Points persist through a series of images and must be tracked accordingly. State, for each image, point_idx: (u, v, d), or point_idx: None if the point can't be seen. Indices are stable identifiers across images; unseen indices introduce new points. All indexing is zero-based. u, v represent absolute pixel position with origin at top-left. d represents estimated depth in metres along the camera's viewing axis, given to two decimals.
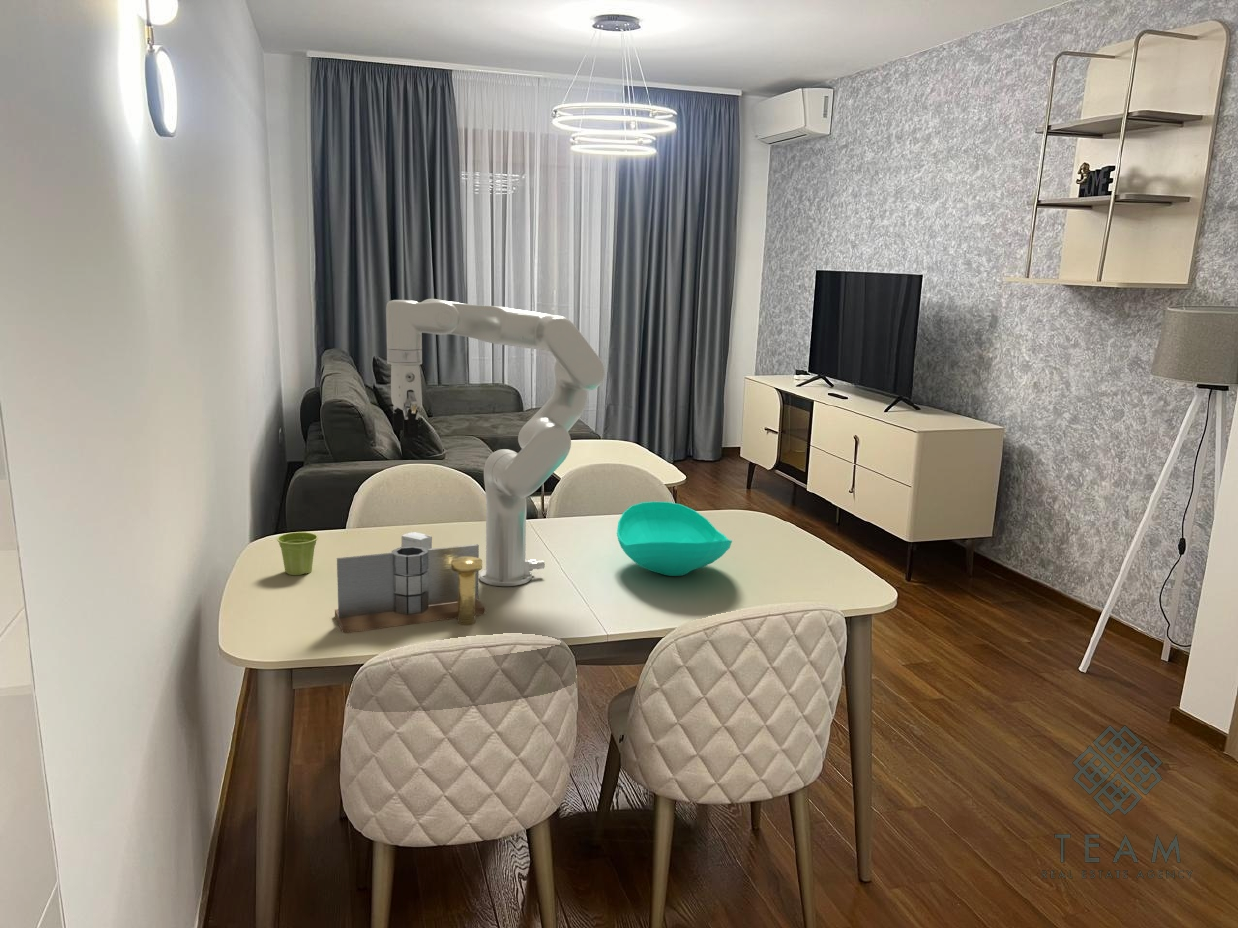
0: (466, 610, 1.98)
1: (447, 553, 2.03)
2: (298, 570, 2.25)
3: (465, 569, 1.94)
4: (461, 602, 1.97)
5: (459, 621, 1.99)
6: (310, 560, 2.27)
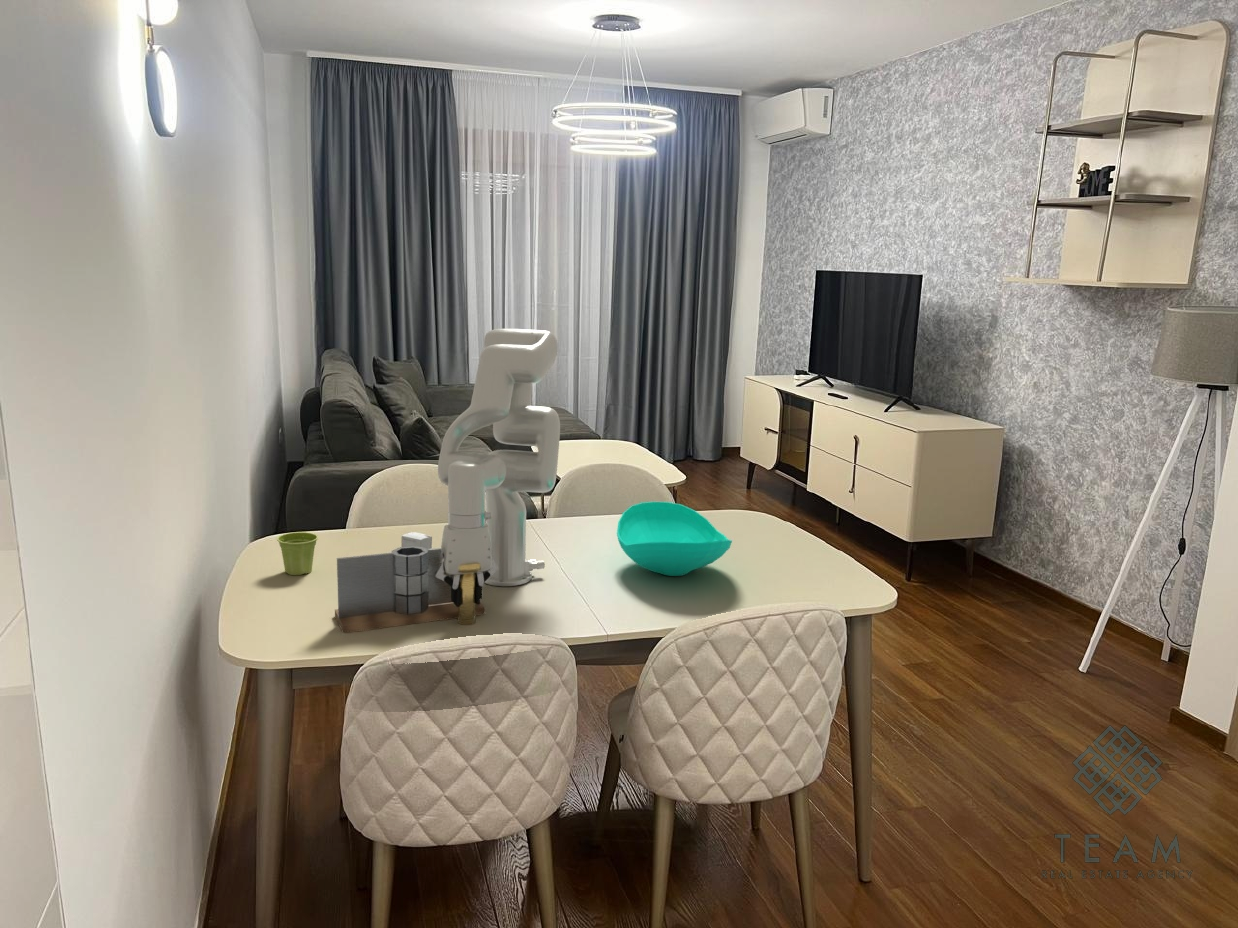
0: (466, 610, 1.98)
1: None
2: (298, 570, 2.25)
3: (465, 569, 1.94)
4: (461, 602, 1.97)
5: (459, 621, 1.99)
6: (310, 560, 2.27)
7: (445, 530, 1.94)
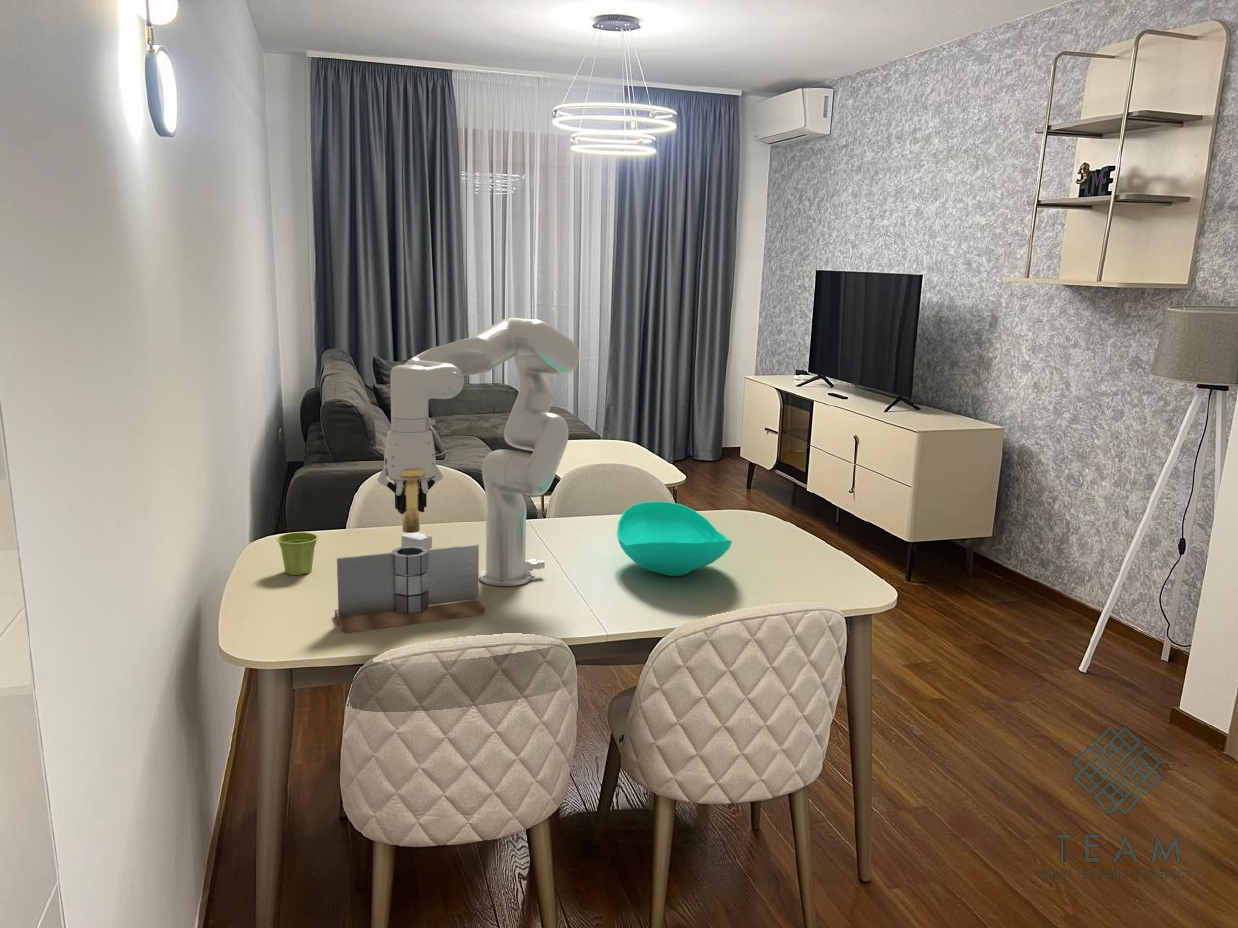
0: (410, 518, 1.96)
1: (447, 553, 2.03)
2: (298, 570, 2.25)
3: (408, 474, 1.93)
4: (404, 509, 1.96)
5: (403, 529, 1.97)
6: (310, 560, 2.27)
7: (388, 435, 1.93)
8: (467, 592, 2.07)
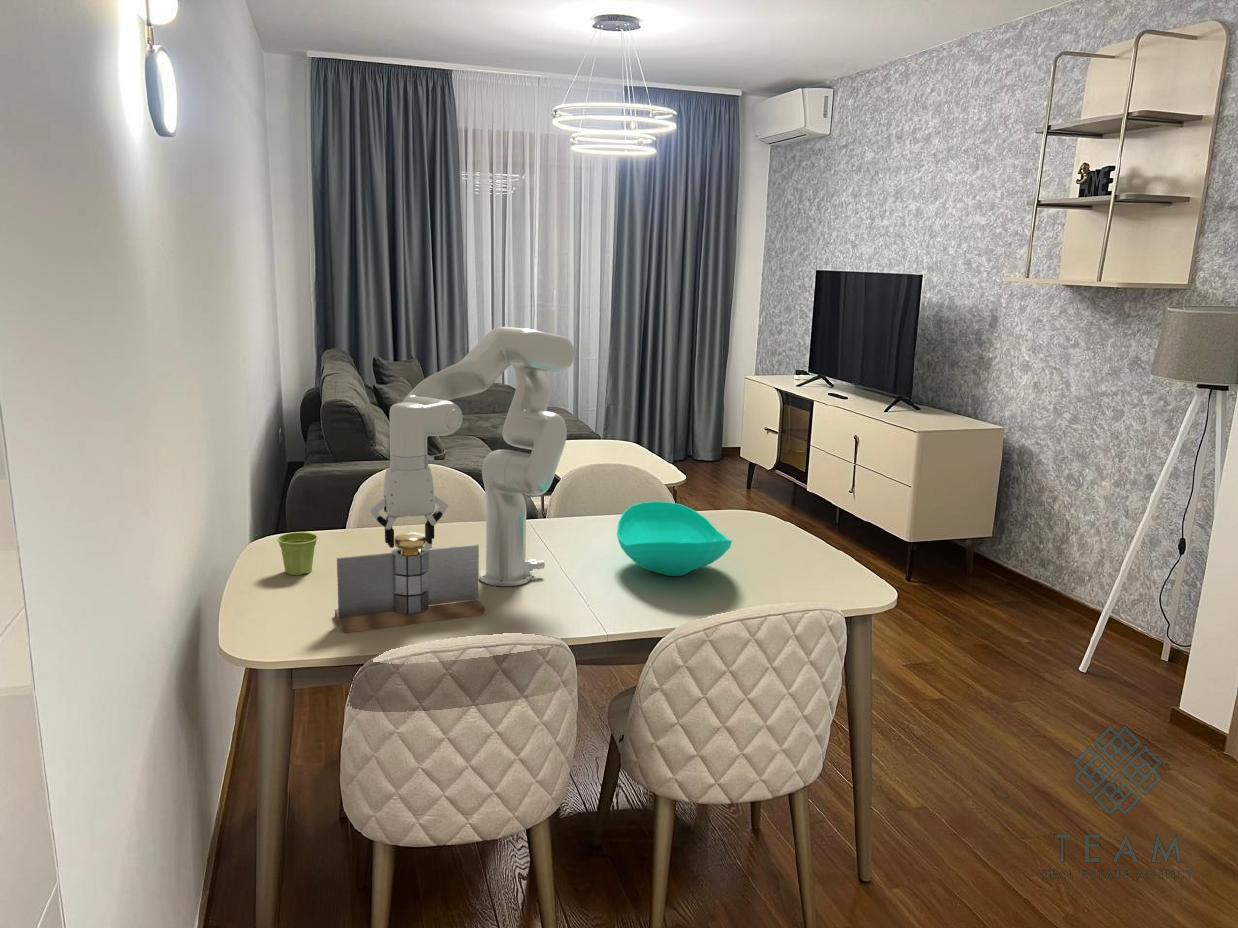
0: None
1: (447, 553, 2.03)
2: (298, 570, 2.25)
3: (407, 545, 1.96)
4: None
5: None
6: (310, 560, 2.27)
7: (387, 472, 1.94)
8: (467, 592, 2.07)
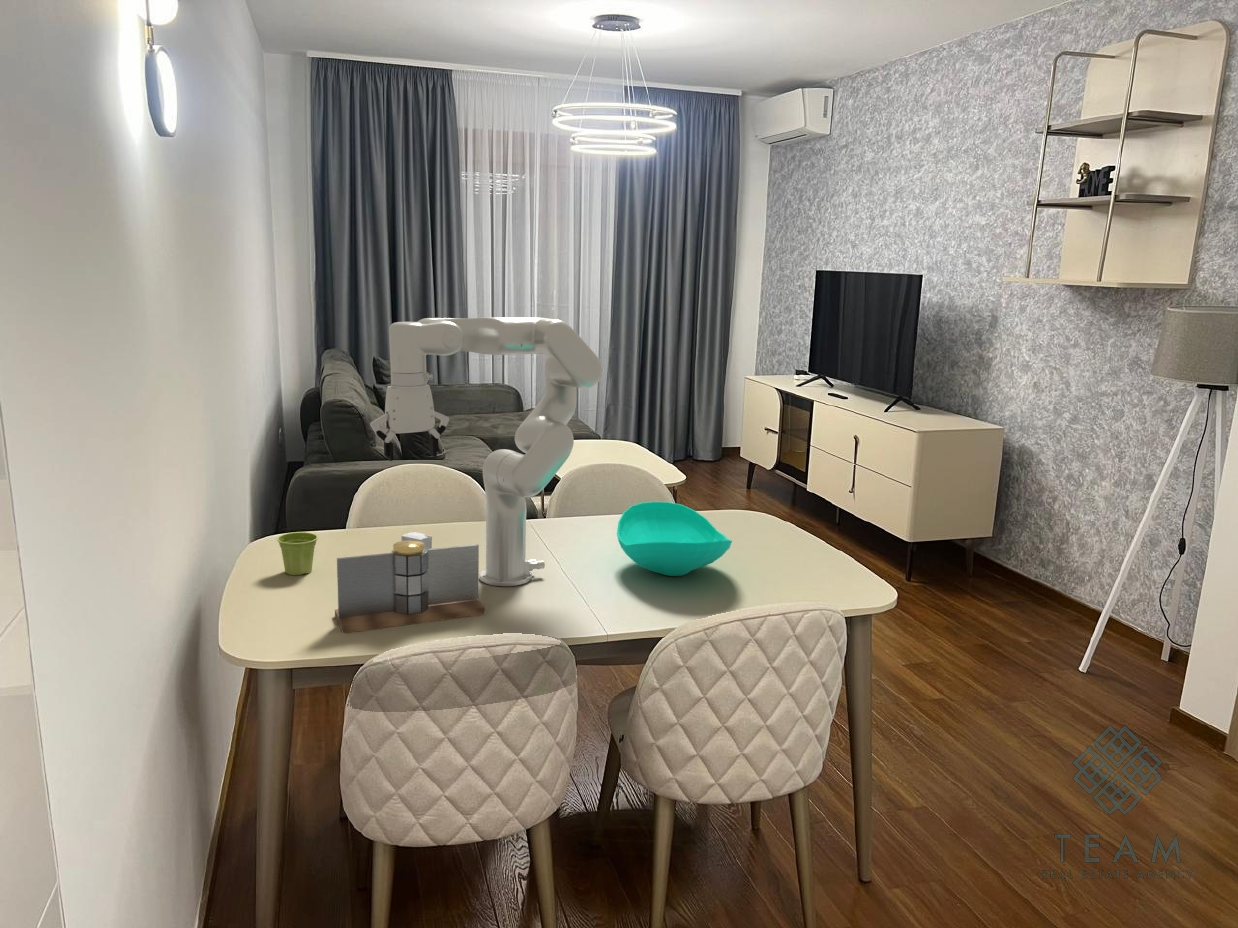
0: None
1: (447, 553, 2.03)
2: (298, 570, 2.25)
3: (406, 552, 1.96)
4: None
5: None
6: (310, 560, 2.27)
7: (388, 389, 2.01)
8: (467, 592, 2.07)
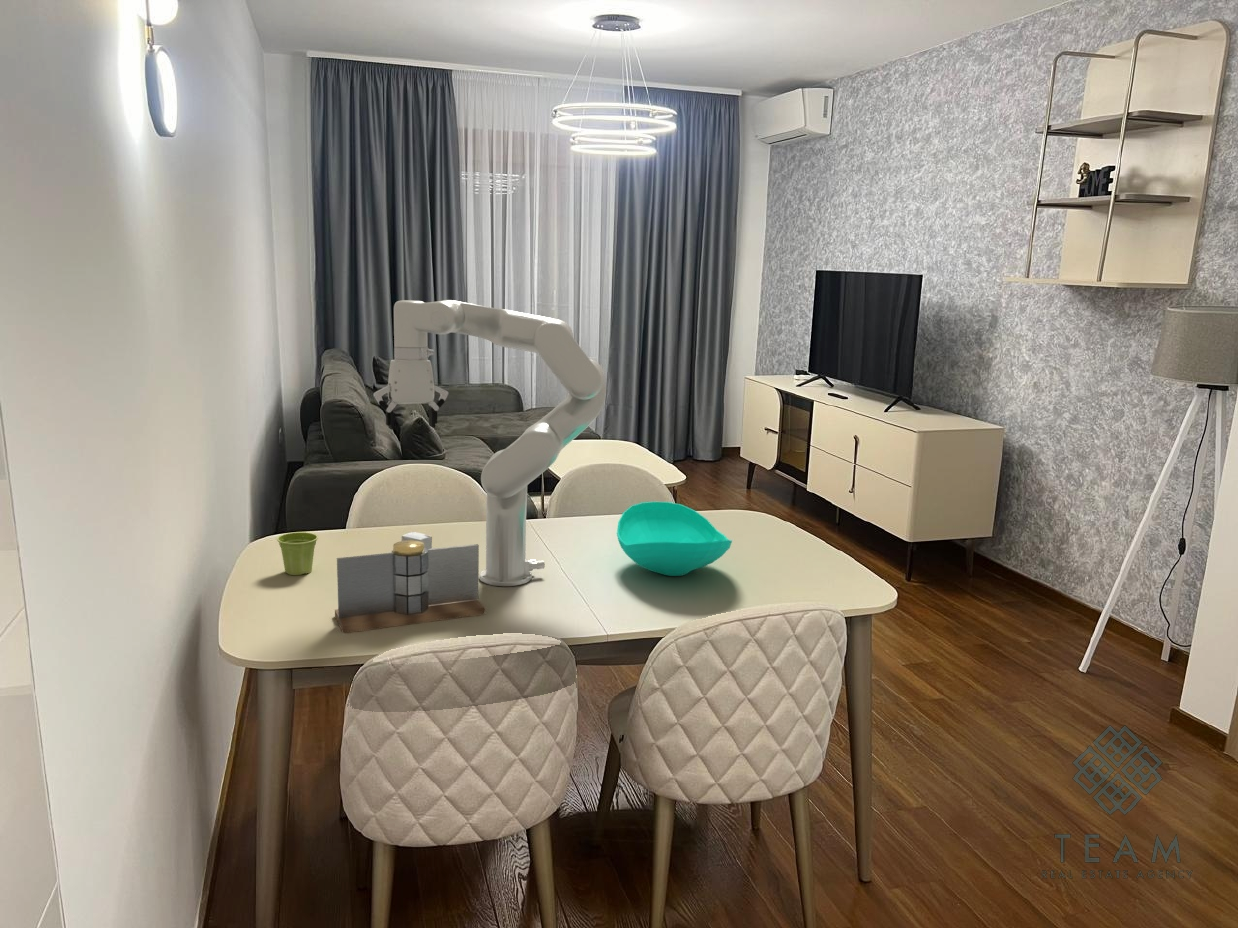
0: None
1: (447, 553, 2.03)
2: (298, 570, 2.25)
3: (406, 552, 1.96)
4: None
5: None
6: (310, 560, 2.27)
7: (391, 363, 2.16)
8: (467, 592, 2.07)
